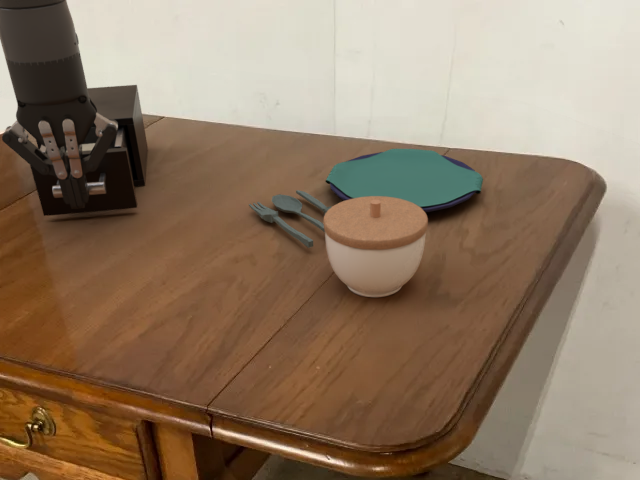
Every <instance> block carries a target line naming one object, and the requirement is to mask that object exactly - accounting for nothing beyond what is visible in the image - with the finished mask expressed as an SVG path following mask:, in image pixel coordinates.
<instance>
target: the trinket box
mask: <svg viewBox="0 0 640 480" xmlns="http://www.w3.org/2000/svg"><path fill="white" fill-rule="evenodd" d="M323 224H324V230H325V232H324V240H325V250H326V255H327V258H328V261H329V265H330V267H331V269H332V271H333V273H334V274H335V276H336V277H337V278H338V279H339V280H340V281H341V282H342V283H343V284H345V285H346V286H347V287H346V288H348V289H349V290H350V292H352V293H353V294H355V295H358V296H361V297H366V298H383V297H388V296H391V295H394V294H396V293H398V292H399V291H400V290H401V289H402V287H403V286H404V285H406V284H407V283H408V282H409V281H410V280H411V279H412V278H413V276H414V275H415V274H416V272H417V271H418V269H419V267H420V265H421V262H422V259H423V255H424V251H425V245H426V237H427V236H426V235H427V229H428V225H429V218H428V215H427V212H424V211H423V209H422V208H420V207H419V206H417V205H416V204H414V203H412V202H409V201H406V200H403V199H399V198H393V197H384V196H368V197H359V198H353V199H349V200H346V201H345V200H343V201H340V202H338V203H335V204H334V205H333V206H331V208H330V209H329V210H328V211H327V212H326V214H325V216H324V215H323Z"/></svg>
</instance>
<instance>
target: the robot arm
mask: <svg viewBox="0 0 640 480" xmlns="http://www.w3.org/2000/svg"><path fill="white" fill-rule="evenodd" d="M78 37H79V36H78V33H76V27H75V24H74V19H73V16H72V14H71V12H70V8H69V5H68V1H67V0H0V43H1V47H2V51H3V55H4V58H5V59H4V60H5V63H6V67H7V70H8V73H9V78H10V81H11V85H12V88H13V92H14V96H15V99H16V100H15V101H16V103H17V108H16V113H15V118H16V120H15V121H14V123H13V124H12V125H8V126H6V128H5V129H4V131H3V134H2V135H1V140H2V142H3V143H4V144H5V145H7V146H8V148H10V149H11V150H12V151H14V152H15V154H17V155H18V156H19V157H20V158H21V159H22V160H24V161H25V162H26V163H27V164H29V166H30V165H31V166H32V167H33V168H35V169H36V170H37V171H38V172H39V173H41V174H42V175H48V174H49V175H53V176H55V177H56V178H57V179H58V180H59V184H60V188H61V192H62V195H63V200H64V202H65V203H66V204H70V206H71V209H76V208H84V207H85V203H88V198H89V189H88V185H87V181H86V176H85V174H86V173H88V172H90V171H91V172H94V171H96V169H97V168H98V166H99V164H100V162H101V161H102V159H103V157H104V155H105V153H106V152H107V150H108V148H109V146H110V145H111V143H112V141H113V139H114V138H115V136H116V134H117V129H118V123H117V121H116V120H114V119H110V120H108V119H107V118H105V117H103V116H102V115H100V114H99V113H97V108H96V106H95V104H94V103H93V102H92V101H91V99H90V97H89V94H88V89H87V88H88V84H87V79H86V74H85V72H84V71H85V69H84V66H83V65H84V64H83V61H82V56H81V51H80V47H79V38H78ZM93 123H94V124H95V125H96V131H95V133H96V135H97V136H98V137H99V138H98V140H97V142H96V143H95V145H94V147H93V149H92V151H91V152H90V154H89V156H88V157H85V158H83V153H82V143H83V142H84V141H85V139H86V137H87V135H88V133H89V131H90V129H91V127H92V125H93ZM28 133H29V134H28ZM29 135H31V136H32V138H34V139H35V141H36V140H37V141H38V142H39V143H40V144H42V145H43V146H45V147H46V149H47V152H48V155H49V157H48V156H47V155H45V154H44V153H43V152H42V151H41V150H40V149H39V148H38V146H36V145H35V144H34V143H33V142H32V141H31V140H29ZM64 147H67V154H68V158H69V161H70V167H69V163H68V160H67V157H66V154H65V148H64ZM69 168H71V172H70V170H69Z"/></svg>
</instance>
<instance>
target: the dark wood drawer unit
mask: <svg viewBox="0 0 640 480" xmlns="http://www.w3.org/2000/svg"><path fill="white" fill-rule="evenodd" d="M87 89H88V94H89V97H90V99H91V101H92V102H93V103H94V104H95V106H96V108H97V113H99V114H100V115H102V116H103V117H105V118H107V119H108V120H110V119H114V120H116V121H117V123H118V126H119V125H127V130H128V135H129V140H130V146H131V151H132V156H133V161H134V174H133V184H134V188H136V187H146V180H147V179H146V178H147V164H148V152H149V147H148V141H147V136H146V128H145V124H144V117H143V112H142V106H141V100H140V96H139V89H138V85H137V84H129V85H128V84H127V85H114V86H100V87H99V86H98V87H87ZM92 127H96V125H95V124H94V123H93V125H92ZM92 127H91V128H92ZM35 142H36V145H37V146H36V147H37V148H39V149H40V148H41V145H42V144H40V143H39V142H38V141H37V140H36V139H35Z"/></svg>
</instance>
